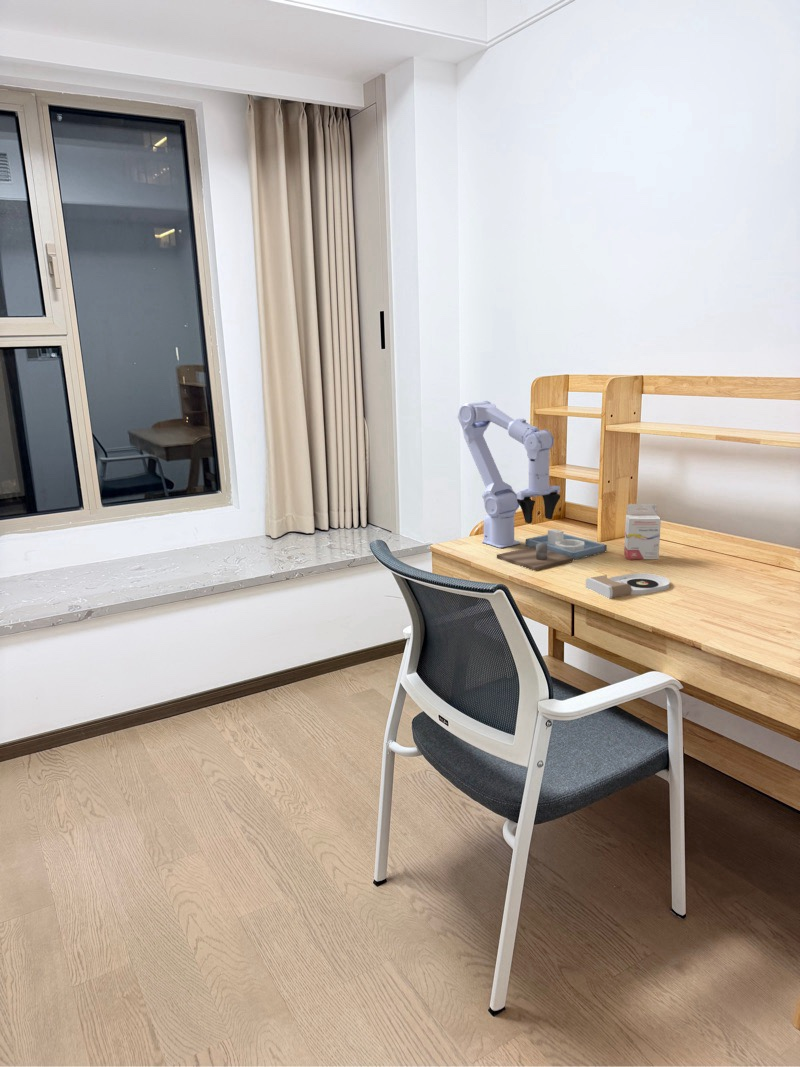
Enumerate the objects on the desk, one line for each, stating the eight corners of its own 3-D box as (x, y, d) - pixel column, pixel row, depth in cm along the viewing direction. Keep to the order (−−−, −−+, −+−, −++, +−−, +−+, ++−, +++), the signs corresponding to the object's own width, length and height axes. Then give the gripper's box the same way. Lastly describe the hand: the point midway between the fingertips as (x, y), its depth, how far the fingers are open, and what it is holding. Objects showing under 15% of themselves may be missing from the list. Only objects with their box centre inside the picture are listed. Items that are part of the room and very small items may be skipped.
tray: (525, 545, 224) (525, 539, 224) (557, 538, 231) (557, 532, 230) (573, 560, 208) (573, 553, 207) (606, 551, 214) (606, 545, 214)
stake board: (496, 558, 213) (496, 541, 212) (534, 549, 220) (534, 533, 219) (534, 570, 200) (534, 552, 198) (573, 561, 206) (573, 543, 205)
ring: (540, 544, 222) (540, 531, 221) (561, 540, 226) (561, 527, 225) (569, 553, 212) (569, 539, 211) (590, 548, 216) (590, 534, 215)
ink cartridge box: (627, 560, 206) (629, 507, 202) (623, 555, 210) (625, 504, 207) (659, 559, 205) (661, 507, 201) (655, 554, 209) (657, 503, 206)
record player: (582, 576, 185) (647, 565, 192) (582, 588, 185) (647, 576, 193) (613, 589, 174) (680, 577, 182) (612, 601, 175) (679, 589, 182)
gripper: (528, 478, 204) (528, 527, 208) (567, 472, 211) (567, 519, 215) (511, 475, 210) (512, 522, 213) (550, 469, 217) (550, 515, 221)
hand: (538, 520), depth 214 cm, fingers open, 7 cm apart
